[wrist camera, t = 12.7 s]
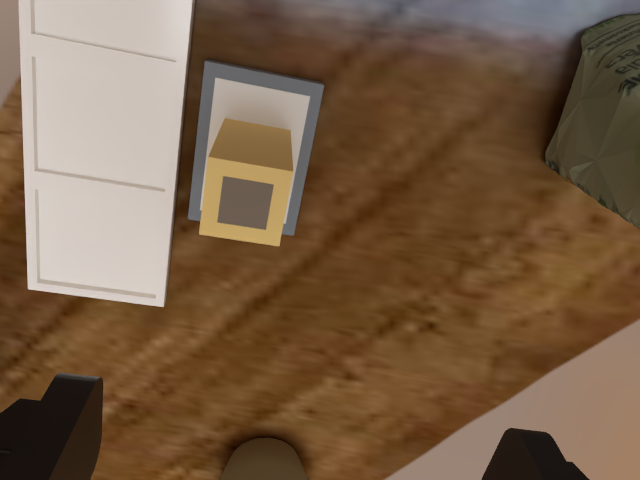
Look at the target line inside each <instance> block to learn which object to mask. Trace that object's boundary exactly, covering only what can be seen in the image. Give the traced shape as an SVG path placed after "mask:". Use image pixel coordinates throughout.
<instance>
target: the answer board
mask: <svg viewBox="0 0 640 480" xmlns="http://www.w3.org/2000/svg"><path fill="white" fill-rule="evenodd" d="M323 89H324V83H323V82H319V81H314V80H309V79H304V78H299V77H295V76H290V75H285V74H280V73H275V72H270V71H265V70H260V69H255V68H250V67H245V66H240V65H235V64H230V63H225V62H220V61H215V60H210V59H206V60H205V64H204V73H203V83H202V92H201V101H200V111H199V120H198V129H197V138H196V148H195V157H194V166H193V176H192V185H191V194H190V203H189V213H188V219H190V220H196V221H201V213H202V204H203V195H204V187H205V178H206V170H207V161H208V156H209V153H210V151H211V149H212V146H213V144H214V142H215V139H216V137H217V135H218V132H219V130H220V128H221V126H222V123H223V121H224V119H225V118H227V119H232V120H238V121H243V122H249V123H254V124H259V125H265V126H270V127H276V128H281V129H287V130H291V144H292V159H293V176H292V181H291V187H290V192H289V197H288V203H287V208H286V213H285V219H284V224H283V229H282V234H285V235H292V236H294V232H295V227H296V222H297V217H298V213H299V208H300V203H301V198H302V193H303V188H304V183H305V178H306V173H307V168H308V163H309V158H310V153H311V148H312V143H313V139H314V134H315V129H316V124H317V119H318V114H319V109H320V104H321V99H322V94H323Z"/></svg>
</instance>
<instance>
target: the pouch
mask: <svg viewBox="0 0 640 480" xmlns="http://www.w3.org/2000/svg"><path fill="white" fill-rule="evenodd" d="M581 45H582V51H583V53H582V56H581V59H580V62H579V65H578V68H577V71H576V74H575V77H574V80H573V83H572V86H571V89H570V92H569V95H568V98H567V101H566V103H565V106H564V109H563V112H562V115H561V118H560V121H559V124H558V127H557V129H556V132H555V134H554V136H553V138H552V140H551V142H550V144H549V146H548V148H547V150H546V154H545V165H548V166H549V167H550V168H551V170H554V171H556V172H557V173H558V174H559V175H560V176H562V177H563V178H564V179H565V180H566V181H567V182H569V183H572V184H573V185H575V186H577V187H579V188H580V189H581V190H583V192H585V193H587V194H588V195H589V196H591V197H593V198H594V199H596V200H597V201H598V202H599V203H600V204H601V205H602V206H604V207H606V208H608V209H610V210H612V211H613V212H615V213H617V214H619V215H620V216H621V217H622V218H623V219H625V220H626V221H628V222H629V223H632V224H633V225H634V226H635V227H637V228H639V229H640V14H637V15H630V14H629V15H622V16H619V17H616V18H614V19H611V20H608V21H606V22H603V23H601V24H599V25H598V26H595V27H592V28H590V29H587V30H586V32H585V33H584V34H583V36H582V38H581Z"/></svg>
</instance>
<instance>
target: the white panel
mask: <svg viewBox="0 0 640 480" xmlns="http://www.w3.org/2000/svg"><path fill="white" fill-rule="evenodd" d="M24 182H25V213H26V243H27V274H28V289H31V290H38V291H46V292H53V293H61V294H68V295H76V296H84V297H91V298H99V299H106V300H114V301H121V302H129V303H137V304H144V305H152V306H159V307H164V305H165V302H166V299H167V288H168V278H169V267H170V257H171V247H172V236H173V226H174V215H175V205H176V198H175V200H174V202H167V201H161V200H155V199H148V198H142V197H136V196H130V195H123V194H117V193H111V192H105V191H99V190H92V189H86V188H80V187H74V186H68V185H61V184H55V183H49V182H43V181H37V180H30V179H24Z"/></svg>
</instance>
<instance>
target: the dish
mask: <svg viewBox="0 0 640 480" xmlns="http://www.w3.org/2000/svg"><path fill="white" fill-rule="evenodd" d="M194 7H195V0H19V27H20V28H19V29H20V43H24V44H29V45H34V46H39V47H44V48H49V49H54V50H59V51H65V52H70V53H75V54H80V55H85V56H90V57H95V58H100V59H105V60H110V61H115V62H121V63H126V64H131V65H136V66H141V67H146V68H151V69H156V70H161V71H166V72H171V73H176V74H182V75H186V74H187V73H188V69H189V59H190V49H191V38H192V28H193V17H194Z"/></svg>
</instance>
